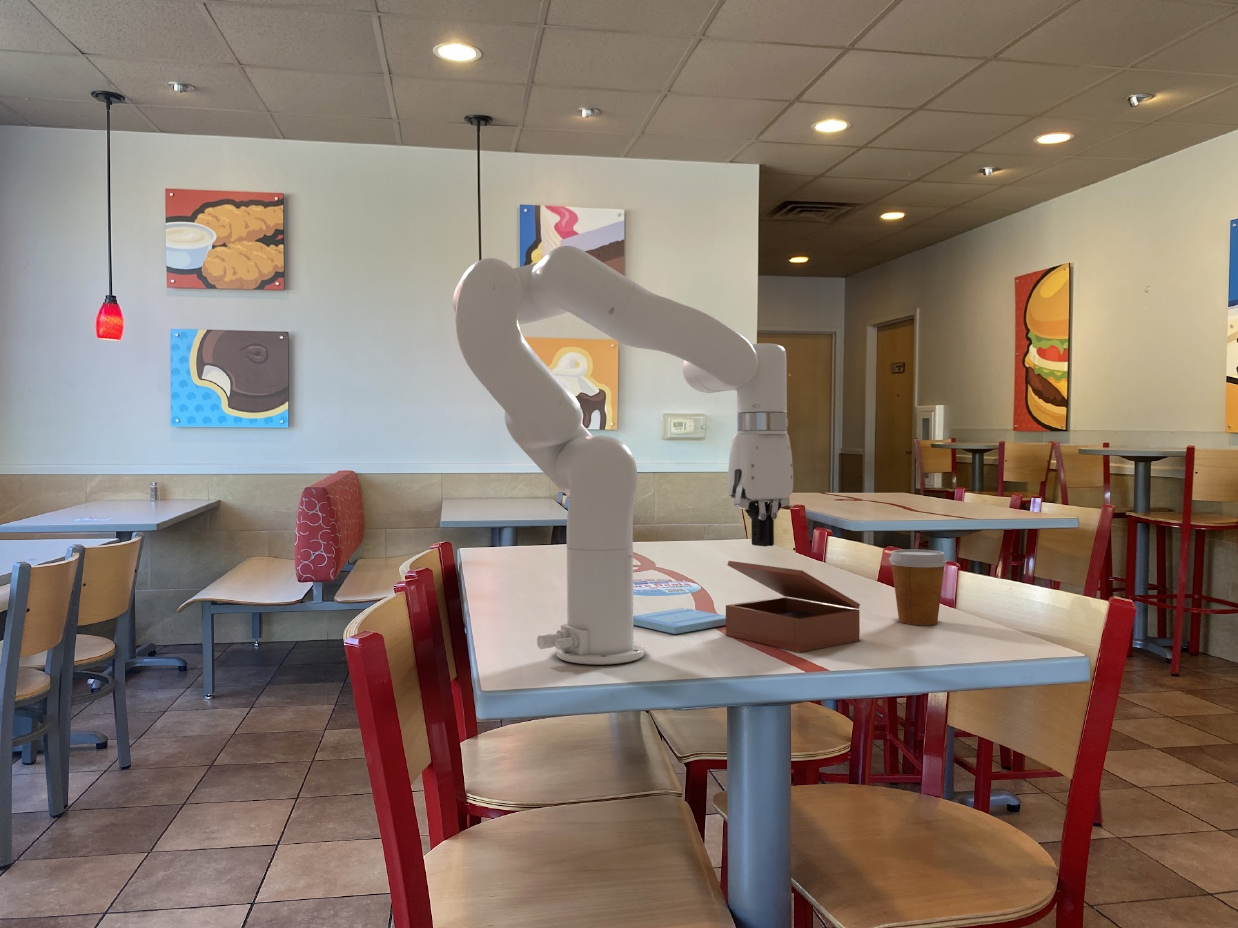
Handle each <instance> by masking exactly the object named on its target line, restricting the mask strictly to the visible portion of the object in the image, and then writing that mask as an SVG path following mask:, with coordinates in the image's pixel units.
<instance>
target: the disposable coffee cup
mask: <svg viewBox="0 0 1238 928" xmlns="http://www.w3.org/2000/svg"><path fill="white" fill-rule="evenodd" d="M888 561H889V563H890V565H891V570H892V576H893V578H892V579H893V586H894V591H895V592H894V593H895V594H894V595H895V601H896V609H897V616H898V617H897V618H898V621H899V622H900V623H902V624H907V625H913V626H914V625H915V626H932V625H937V624H938V621H939V613H940V605H941V597H942V591H943V590H942V589H943V581H944V574H945V566H947V563H948V559H947V558H946V554H945V552H943V551H939V550H933V549H931V550H930V549H895V550H891V552H890V557H889V558H888Z"/></svg>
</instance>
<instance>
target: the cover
mask: <svg viewBox="0 0 1238 928" xmlns="http://www.w3.org/2000/svg"><path fill="white" fill-rule="evenodd" d="M726 565H727V566H728V567H730V568H732V569H733V570H736V571H737V572H739V573H740V574H743V575H745V576H746V577H748V578H750V579H751V580H753V581H755V582H757V583H759V584H761V585H763V586H765V587H767V588H768V589H770V590H772V591H773V592H775V593H777V594H779V595H781V596H782V597H788V598H794V599H800V600H806V601H812V602H818V603H823V604H829V605H835V606H841V607H847V608H853V609H859V610H860V606H861V603H859V602H858V601H856V600H854V599H852V598H851V597H849V596H847V595H845V594H844V593H842V592H840V591H838V590H837V589H835V588H833V587H831V586H830V585H828V584H826V583H824V581H821V580H820V579H817V578H816V577H814V576H812V575H811V574H809V573H807V572H806V571H804V570H802V569H794V568H787V567H779V566H771V565H764V564H757V563H751V562H750V563H749V562H741V561H735V560H734V561H733V560H728V562H727V564H726Z"/></svg>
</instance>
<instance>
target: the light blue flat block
mask: <svg viewBox="0 0 1238 928" xmlns="http://www.w3.org/2000/svg"><path fill="white" fill-rule="evenodd" d="M633 626H637V627H641V628H647V629H651V630H656V631H660V632H664V633H669V634H672V635H673V634H674V635H677V634H683V633H688V632H695V631H699V630H700V631H701V630H706V629H710V628H716V627H721V626H726V614H725V615H724V614H720V613H718V614H717V613H715V612H708V611H705V610H704V611H703V610H698V609H693V608H683V607H680V608H674V609H667V610H662V611H655V612H648V613H641V614H636V615H635V614H634V615H633Z"/></svg>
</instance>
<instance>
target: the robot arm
mask: <svg viewBox="0 0 1238 928" xmlns="http://www.w3.org/2000/svg"><path fill="white" fill-rule="evenodd" d="M452 307H453V311H454V313H455V331H456V337H457V342H458V345H459V349H460V352H461V354H462V356H463V358H464V361H465V363H466V364H467V367H469V370H470V371H471V372H472V373H473V375H474V377H476V378H477V380H478V381H479V383H480V384H481V385H482V386H483V387H484V388H485V389H486V390H487V392H488V393H489V394H490V395H491V396H492V398H493V399H494V400H495V401H496V402H497V403H498V405H500V407H501V408H502V409H503V410H504V422H505V426H506V430H507V431H508V433H509V435H510V436H511V438H512V439H513V441H514V442H515V443H516V444H517V445H518V447H519V448H520V449H521V450H522V451H523V452H524V453H525V454H526V455H527V457H529V458H530V459H531V461H532V462H533V463H534V464H535V465H536V466H537V467H538V468H539V470H540V471H542V473H544V475H545V476H547V478H548V479H549V480H550V481H551V482H552V483H553V484H554V485H555V486H556V487H557V488H558V489H559V490H561V491H562V492H563V493H564V494H566V495H567V496H568V497H569V498H568V506H567V516H566V592H567V593H566V623H565V624H560V629H559V630H557V631H556V632H555V633H546V634H540V635H538V636H537V638H536V644H537V647H538V649H540V650H545V649H552V648H555V649H556V656H557V658H558V659H560V660H563V661H565V662H568V663H574V664H579V665H581V664H582V665H597V666H599V665H600V666H601V665H616V664H617V665H618V664H624V663H631V662H633V661H637V660H639V659H641V658H643V657H644V655H645V647H644V645H643V644H641V643H640V642H636V641H634V625H633V616H634V542H633V541H634V539H633V536H634V534H633V533H634V531H633V530H634V527H633V525H634V509H635V508H634V507H635V498H636V491H637V483H638V470H637V463H636V460H635V458H634V455H633V453H632V451H631V450H630V449H629V447H628V446H627V445H626V444H625V443H624V442H622V441H621V440H619V439H617V438H615V437H613V436H611V435H610V436H609V435H605V434H604V435H603V434H601V435H600V434H597V435H593V434H591V432H589V430H588V429H587V428H586V427H585V425H583V424H582V420H583V419H582V416H583V413H582V407H581V404H580V403H579V400H578V399H577V397H576V396H575V394H574V393H573V392H572V390H570V389H569V388H568V387H567V386H566V385H565V383H563V382H562V381H561V380H560V378H558V376H557V375H556V374H555V373H554V372H553V371H552V370H551V369H550V368H549V367H548V365H547V364H546V363H545V362H544V361H543V360H542V358H540V357H539V355H537V353H536V352H535V350H534V349H533V348H532V347H531V346H530V344H529V343H528V342H527V340H526V338H525V337H524V335H523V333H522V331H521V328H520V325H524V324H525V325H526V324H529V323H533V322H539V321H543V320H546V319H550V318H554V317H557V316H561V315H563V314H566V313H570V314H572V315H573V316H575V317H576V318H577V319H580V320H582V321H583V322H584V323H586V324H588V325H589V326H590V325H591V326H592V327H593V328H595V329H596V330H599V331H600V332H602V333H603V334H605V335H607V336H608V337H610V338H612V339H613V340H614V341H617V342H618V343H620V344H622V345H625V346H629V347H633V348H637V349H642V350H653V351H658V352H662V353H665V354H668V355H671V356H674V357H676V358H679V359H682V360H683V364H682V374H683V377H684V379H685V382H686V383H687V384H688V385H689V387H691V388H692V389H694V390H695V391H698V392H700V393H703V394H714V393H715V394H716V393H721V392H728V391H730V392H731V391H736V434H733V436H732V440H731V445H730V449H729V457H728V469H727V470H728V471H727V494H728V497H729V498H731V499H734V502H733V506H734V507H735V508H737V509H740V510H744V511H745V513H746V514H747V518H748V520H751V528H750V529H751V530H750V531H751V545H752V546H757V547H773V546H774V545H775V520H776V519H777V518H778V513H779V511H780V510H781V508H784V507H786V506H789V505H790V501H791V500H790V497H791V496H792V494H793V491H794V465H793V453H792V447H791V441H790V436H789V435H790V434H788V426H789V423H790V422H789V419H788V414H787V413H788V399H787V398H788V396H787V395H788V394H787V393H788V390H787V389H788V387H787V383H788V382H787V381H788V378H787V376H788V374H787V373H788V371H787V367H788V366H787V352H786V349H785V347H784V346H782V345H780V344H777V343H768V342H767V343H765V342H764V343H763V342H762V343H760V342H759V343H751V342H750V341H749V340H748V339H747V338H746V337H744V336H743V335H742V334H740V333H739V332H737V330H735V329H732V328H731V327H730V326H728V325H727V324H725V323H724V322H722V321H720V320H718V319H717V318H715V317H713V316H712V315H710V314H708V313H705V312H703V311H701V310H699V309H696V308H694V307H691V306H689V305H686V304H683V303H680V302H677V301H675V300H673V299H670V298H668V297H664V296H662V295H658V294H656V293H653V292H651V291H650V290H648V289H646V288H644V287H643V286H641V285H640V284H638V283H636V282H635V281H634V280H632V279H630V278H629V277H627V276H626V275H624V274H622V273H620V272H619V271H617V270H616V269H614V268H613V267H611V266H609V265H608V264H606V263H605V262H603V261H601V260H600V259H598V258H596V257H595V256H594V255H592V254H589V253H588V252H586V251H585V250H583V249H581V248H579V247H576V246H573V245H561V246H558V247H555V248H554V249H552V250H551V251H549V252H548V253H546V254H545V256H543V258H541V259H540V260H539V261H537V262H534V263H531V264H526V265H523V266H522V265H521V266H518V267H514V268H513V267H512V266H511V265H510V264H509V263H507V262H505V261H503V260H502V259H499V258H494V257H487V258H482V259H480V260H478V261H476V262H474V263H473V264H472V265H471V266H469V267H468V269H466V271H465V272H464V273H463V274H462V276H461V279H460V280H459V281H458V284H457V285H456V287H455V290H454V292H453V296H452Z"/></svg>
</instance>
